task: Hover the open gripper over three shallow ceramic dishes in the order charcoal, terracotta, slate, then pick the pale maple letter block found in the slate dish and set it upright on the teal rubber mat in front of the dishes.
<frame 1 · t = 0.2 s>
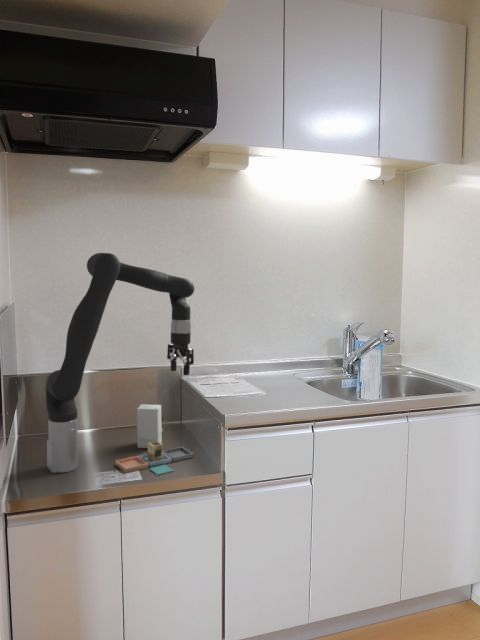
hand: (179, 373, 200), 28 cm above the countertop, fingers open, 8 cm apart
skincare box: (149, 446, 201), on the countertop
dish slate: (155, 461, 186), on the countertop
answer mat: (161, 470, 178), on the countertop
dish terracotta: (131, 466, 180), on the countertop
letter block: (155, 459, 185), resting on dish slate
dish charcoal: (177, 456, 191), on the countertop
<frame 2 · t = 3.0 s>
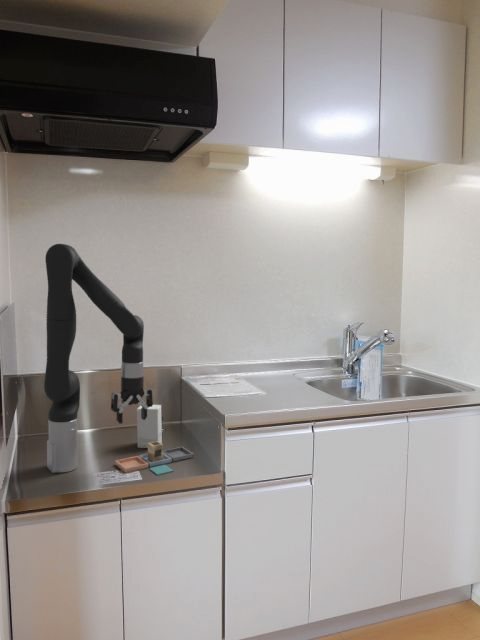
hand: (132, 421, 178), 16 cm above the countertop, fingers open, 8 cm apart
nothing on the countertop moved.
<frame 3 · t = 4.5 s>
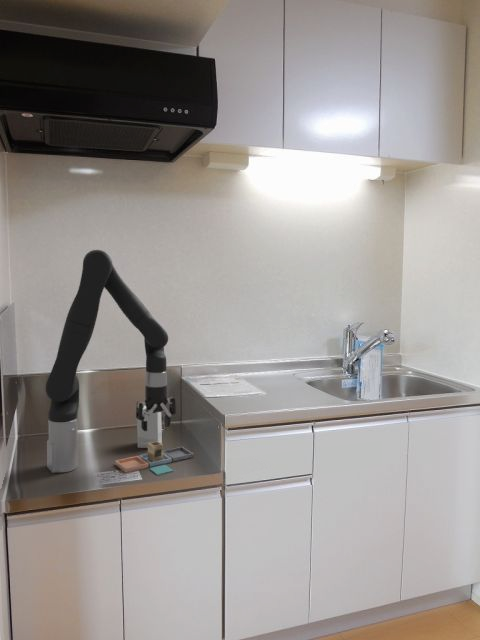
hand: (156, 428, 184), 12 cm above the countertop, fingers open, 8 cm apart
nothing on the countertop moved.
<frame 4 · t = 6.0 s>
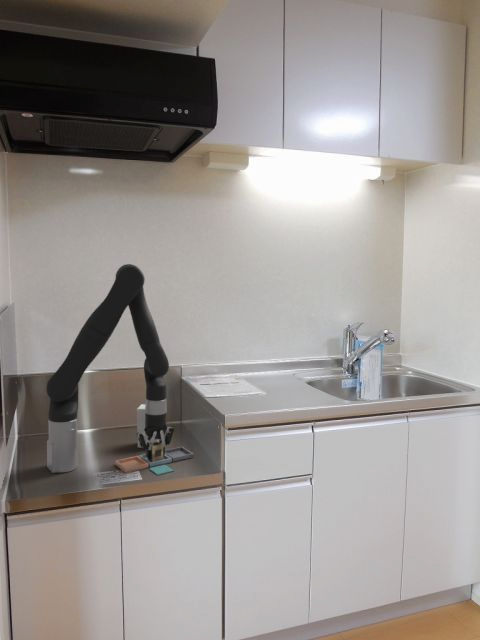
hand: (155, 457, 185), 1 cm above the countertop, fingers closed on letter block, 4 cm apart
letter block: (155, 459, 185), resting on dish slate, touching gripper
everything else where it was.
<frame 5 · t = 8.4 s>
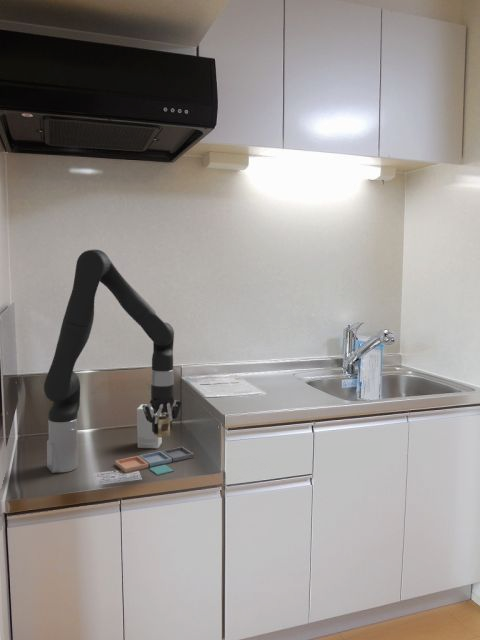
hand: (161, 432, 176), 13 cm above the countertop, fingers closed on letter block, 4 cm apart
letter block: (161, 435, 176), point 13 cm above the countertop, touching gripper
everything else where it was.
when the fingers open (2 cm above the countertop, at t = 10.6 s): letter block stays where it is, resting on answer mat.
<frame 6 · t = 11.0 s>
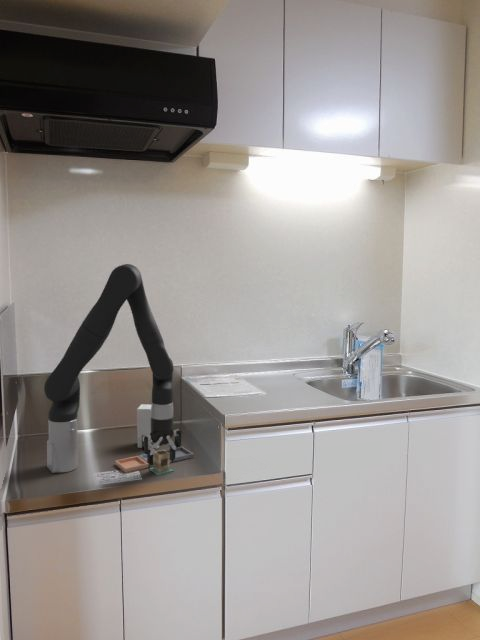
hand: (161, 462, 177), 3 cm above the countertop, fingers open, 7 cm apart
letter block: (161, 469, 177), resting on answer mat
everything else where it was.
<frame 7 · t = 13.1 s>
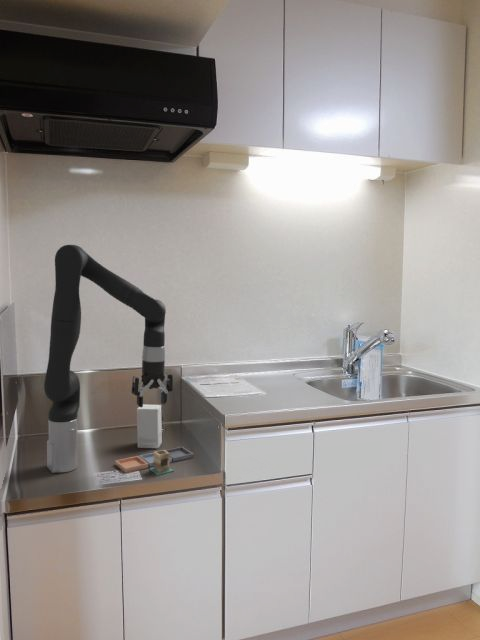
hand: (152, 405, 179), 22 cm above the countertop, fingers open, 8 cm apart
nothing on the countertop moved.
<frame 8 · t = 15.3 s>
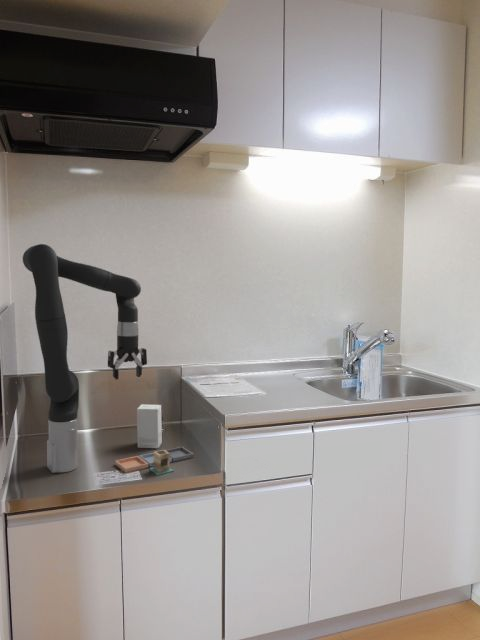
hand: (127, 377, 190), 28 cm above the countertop, fingers open, 8 cm apart
nothing on the countertop moved.
at the end: letter block 0.1 cm off-centre on the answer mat, point 0.4 cm above the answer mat's base; letter block tilted 0°; the gripper is holding nothing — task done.
